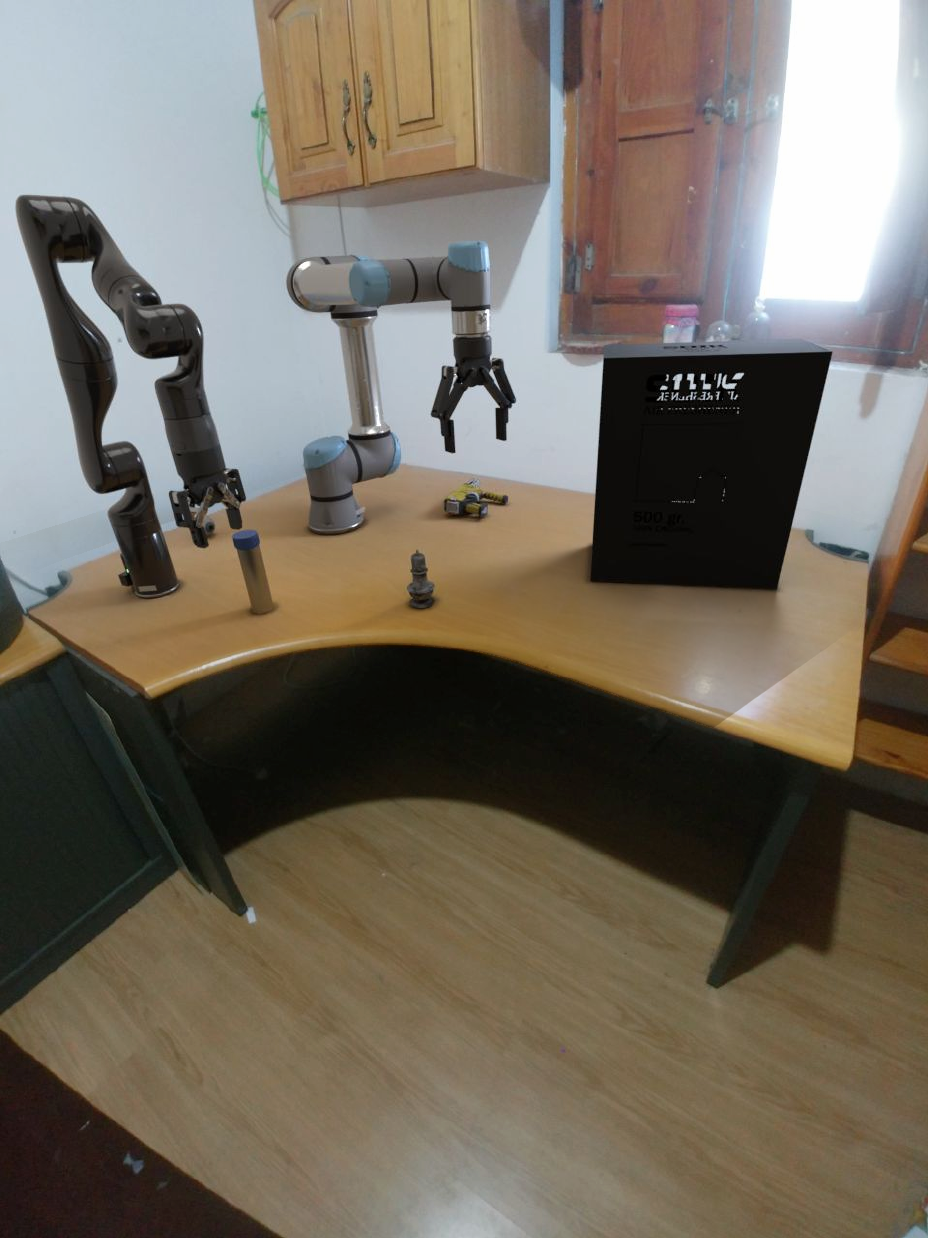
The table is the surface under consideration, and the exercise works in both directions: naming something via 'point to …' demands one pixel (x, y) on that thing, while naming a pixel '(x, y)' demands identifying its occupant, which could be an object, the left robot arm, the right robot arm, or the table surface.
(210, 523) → the eyeball
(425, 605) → the grey chess piece
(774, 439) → the cardboard box
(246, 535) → the lid
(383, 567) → the table surface
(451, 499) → the toy gun
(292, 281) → the right robot arm
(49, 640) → the table surface
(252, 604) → the bottle
